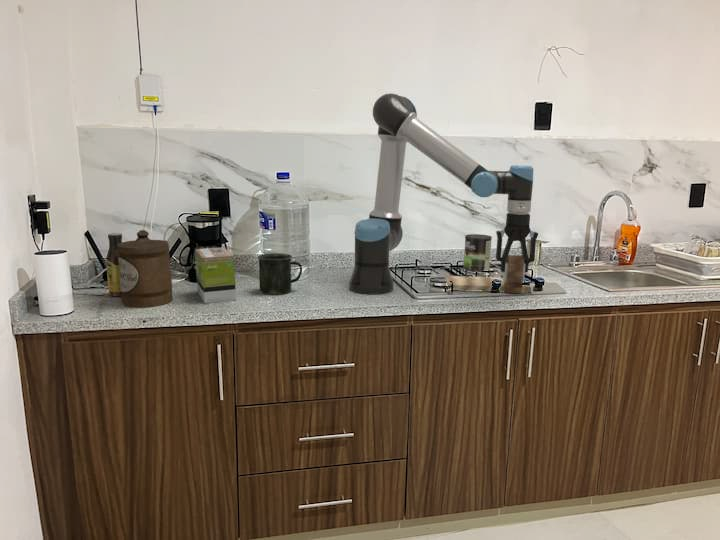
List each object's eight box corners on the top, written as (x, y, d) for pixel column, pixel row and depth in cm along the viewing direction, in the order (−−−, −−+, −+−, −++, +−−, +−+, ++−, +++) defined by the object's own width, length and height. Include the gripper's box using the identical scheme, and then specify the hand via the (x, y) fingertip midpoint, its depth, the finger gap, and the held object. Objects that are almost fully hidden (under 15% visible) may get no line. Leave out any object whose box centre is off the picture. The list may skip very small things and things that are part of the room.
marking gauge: (506, 292, 189) (509, 257, 187) (500, 283, 201) (502, 251, 199) (521, 293, 189) (524, 258, 186) (514, 284, 201) (516, 251, 199)
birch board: (447, 290, 192) (447, 284, 192) (444, 281, 206) (444, 275, 206) (530, 293, 190) (531, 287, 190) (522, 283, 204) (522, 277, 204)
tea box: (196, 292, 185) (194, 248, 182) (227, 289, 189) (225, 246, 186) (203, 304, 172) (201, 256, 169) (236, 300, 176) (235, 254, 173)
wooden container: (117, 298, 176) (111, 229, 172) (165, 292, 184) (161, 226, 180) (127, 310, 164) (121, 235, 160) (178, 303, 172) (174, 232, 167)
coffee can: (473, 275, 217) (475, 238, 214) (458, 269, 226) (459, 234, 223) (495, 272, 221) (497, 237, 218) (479, 267, 230) (481, 233, 227)
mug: (258, 287, 192) (258, 253, 190) (301, 287, 195) (301, 252, 192) (257, 296, 182) (256, 259, 179) (303, 295, 184) (302, 258, 182)
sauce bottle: (108, 293, 183) (103, 232, 178) (129, 291, 185) (125, 231, 181) (108, 298, 177) (103, 235, 173) (130, 296, 179) (125, 234, 175)
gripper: (492, 213, 183) (487, 283, 188) (549, 214, 182) (543, 285, 186) (489, 211, 190) (484, 278, 195) (543, 212, 189) (537, 279, 194)
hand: (513, 281), depth 191 cm, fingers closed on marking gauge, 5 cm apart
